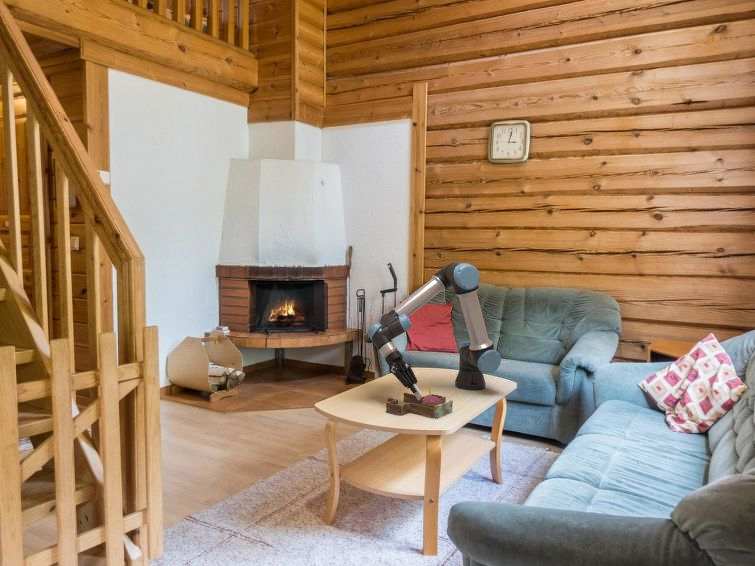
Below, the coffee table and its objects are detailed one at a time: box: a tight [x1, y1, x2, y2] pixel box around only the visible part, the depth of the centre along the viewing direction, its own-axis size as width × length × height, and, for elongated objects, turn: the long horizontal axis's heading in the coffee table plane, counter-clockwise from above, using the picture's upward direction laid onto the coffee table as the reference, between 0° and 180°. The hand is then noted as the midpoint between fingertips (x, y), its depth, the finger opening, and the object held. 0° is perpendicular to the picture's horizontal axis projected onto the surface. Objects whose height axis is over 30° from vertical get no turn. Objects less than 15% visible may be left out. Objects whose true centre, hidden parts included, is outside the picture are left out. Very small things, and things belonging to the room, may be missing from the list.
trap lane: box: [385, 392, 454, 420], centre depth 257 cm, size 26×25×5 cm
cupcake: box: [422, 383, 442, 408], centre depth 253 cm, size 9×8×12 cm
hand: (421, 398), depth 256 cm, fingers closed
